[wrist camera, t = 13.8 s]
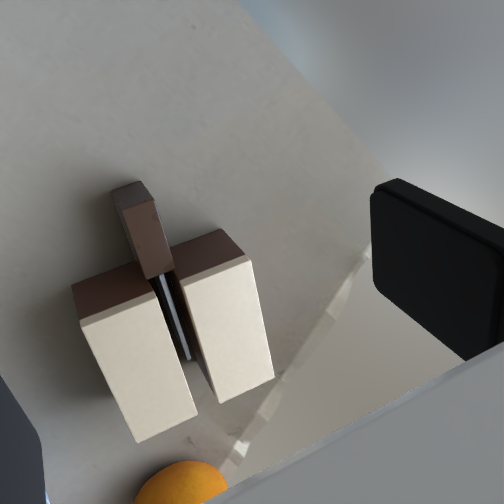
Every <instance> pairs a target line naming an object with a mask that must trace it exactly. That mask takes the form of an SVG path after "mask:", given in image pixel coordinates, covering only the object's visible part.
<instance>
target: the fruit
mask: <svg viewBox="0 0 504 504" xmlns="http://www.w3.org/2000/svg"><path fill="white" fill-rule="evenodd" d="M227 489H229V488H228V486H227V483H226V481H225V479H224V477H223V476H222V474H221V473H220V472H219V471H218V470H217V469H216V468H215V467H213V466H211V465H210V464H208V463H205V462H199V461H192V460H189V461H180V462H177V463H175V464H172V465H170V466H168V467H166V468H164V469H162V470H160V471H159V472H158V473H156V474H155V475H154V476H152V477H151V478H150V479H149V480H148V481H147V482H146V483H145V484H144V485H143V486H142V488H141V489H140V491H139V493H138V495H137V497H136V499H135V501H134V504H202V503H203V502H205V501H207V500H209V499H211V498H213V497H215V496H216V495H218V494H220V493H222V492H224V491H226V490H227Z"/></svg>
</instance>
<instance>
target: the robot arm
mask: <svg viewBox="0 0 504 504" xmlns="http://www.w3.org/2000/svg"><path fill="white" fill-rule="evenodd" d="M370 217H371V243H372V268H373V282H374V285H375V287H376V288H377V290H378V291H379V292H380V293H381V294H383V295H384V296H385V297H386V298H388V299H389V300H390V301H391V302H393V303H394V304H395V305H396V306H398V307H399V308H400V309H401V310H403V311H404V312H405V313H406V314H407V315H409V316H410V317H411V318H412V319H414V320H415V321H416V322H417V323H419V324H420V325H421V326H422V327H423V328H425V329H426V330H427V331H428V332H430V333H431V334H432V335H433V336H435V337H436V338H437V339H438V340H440V341H441V342H442V343H443V344H445V345H446V346H447V347H448V348H450V349H451V350H452V351H454V353H456V354H457V355H458V356H460V357H461V358H462V359H463V360H465V361H466V362H464V363H462V364H460V365H459V366H457V367H455V368H453V369H451V370H449V371H447V372H445V373H443V374H442V375H440V376H438V377H436V378H434V379H432V380H430V381H428V382H426V383H424V384H423V385H421V386H419V387H417V388H415V389H413V390H411V391H409V392H408V393H406V394H404V395H402V396H400V397H398V398H396V399H394V400H393V401H391V402H389V403H387V404H385V405H383V406H381V407H379V408H378V409H376V410H374V411H372V412H370V413H368V414H366V415H365V416H363V417H361V418H359V419H357V420H355V421H353V422H351V423H350V424H348V425H346V426H344V427H342V428H340V429H338V430H337V431H335V432H333V433H331V434H329V435H327V436H325V437H324V438H322V439H320V440H318V441H316V442H314V443H312V444H311V445H309V446H307V447H305V448H303V449H301V450H299V451H298V452H296V453H294V454H292V455H290V456H288V457H286V458H284V459H283V460H281V461H279V462H277V463H276V464H273V465H272V466H270V467H268V468H266V469H264V470H263V471H261V472H259V473H257V474H255V475H253V476H252V477H250V478H248V479H246V480H244V481H242V482H240V483H239V484H237V485H235V486H233V487H231V488H229V489H227V490H226V491H224V492H222V493H220V494H218V495H216V496H215V497H213V498H211V499H209V500H207V501H205V502H203V503H202V504H504V228H502V227H500V226H498V225H495V224H493V223H491V222H489V221H487V220H485V219H483V218H481V217H479V216H477V215H474V214H473V213H471V212H469V211H466V210H464V209H462V208H460V207H458V206H456V205H454V204H452V203H450V202H448V201H446V200H444V199H441V198H439V197H437V196H435V195H433V194H431V193H429V192H427V191H425V190H423V189H421V188H418V187H417V186H414V185H412V184H410V183H408V182H406V181H404V180H402V179H399V178H396V179H393V180H390V181H387V182H385V183H382V184H380V185H377V186H376V187H375V189H374V193H372V194H371V196H370ZM0 504H46V493H45V482H44V471H43V459H42V448H41V442H40V439H39V436H38V434H37V432H36V430H35V428H34V427H33V425H32V424H31V422H30V420H29V419H28V417H27V416H26V414H25V413H24V411H23V410H22V408H21V407H20V405H19V404H18V402H17V400H16V399H15V397H14V396H13V394H12V393H11V391H10V390H9V388H8V387H7V385H6V383H5V382H4V380H3V379H2V377H1V376H0Z"/></svg>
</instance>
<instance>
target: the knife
mask: <svg viewBox="0 0 504 504" xmlns="http://www.w3.org/2000/svg"><path fill="white" fill-rule="evenodd" d="M111 194H112V197H113V200H114V202H115V205H116V208H117V211H118V213H119V216H120V219H121V222H122V224H123V227H124V230H125V233H126V235H127V238H128V241H129V244H130V246H131V249H132V252H133V255H134V257H135V259H136V261H137V263H138V265H139V267H140V269H141V271H142V273H143V275H144V277H145V279H146V280H148V279H151V278H153V277H155V280H156V283H157V286H158V288H159V291H160V294H161V297H162V300H163V303H164V306H165V309H166V312H167V314H168V317H169V320H170V323H171V326H172V329H173V332H174V334H175V336H176V338H177V340H178V342H179V344H180V346H181V348H182V350H183V352H184V354H185V356H186V358H187V360H190V359H192V358H191V355H190V352H189V349H188V346H187V343H186V340H185V337H184V334H183V330H182V327H181V324H180V321H179V318H178V315H177V312H176V309H175V306H174V303H173V300H172V297H171V294H170V291H169V288H168V285H167V282H166V279H165V276H164V274H163V273H166V272H168V271H171V270H174V269H176V267H175V264H174V261H173V257H172V254H171V251H170V248H169V245H168V241H167V238H166V235H165V232H164V229H163V225H162V222H161V219H160V216H159V213H158V209H157V206H156V203H155V200H154V198H153V197H152V195H151V194H150V193H149V191H148V190H147V189H146V187H145V186H144V184H143V183H142V182H141V181H139V182H136V183H133V184H130V185H127V186H124V187H121V188H118V189H115V190H112V191H111Z"/></svg>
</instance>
